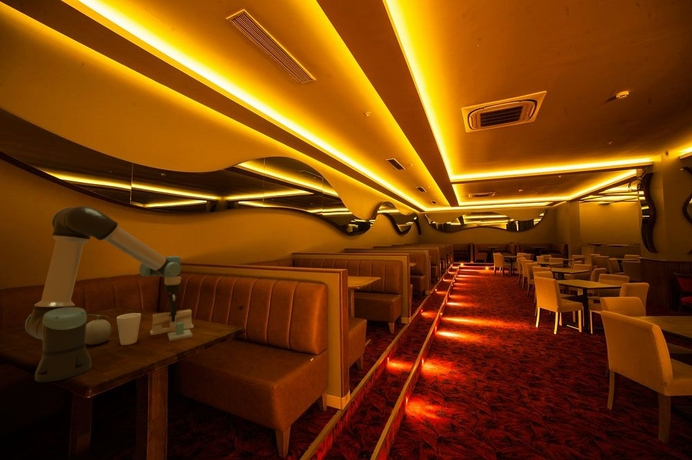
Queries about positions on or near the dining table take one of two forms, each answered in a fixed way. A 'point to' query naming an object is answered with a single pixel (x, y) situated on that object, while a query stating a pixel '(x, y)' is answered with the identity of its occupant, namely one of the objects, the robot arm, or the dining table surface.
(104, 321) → the fruit
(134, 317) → the foam cup
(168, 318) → the bar
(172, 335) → the fulcrum
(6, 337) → the dining table surface
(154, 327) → the beige bracket
